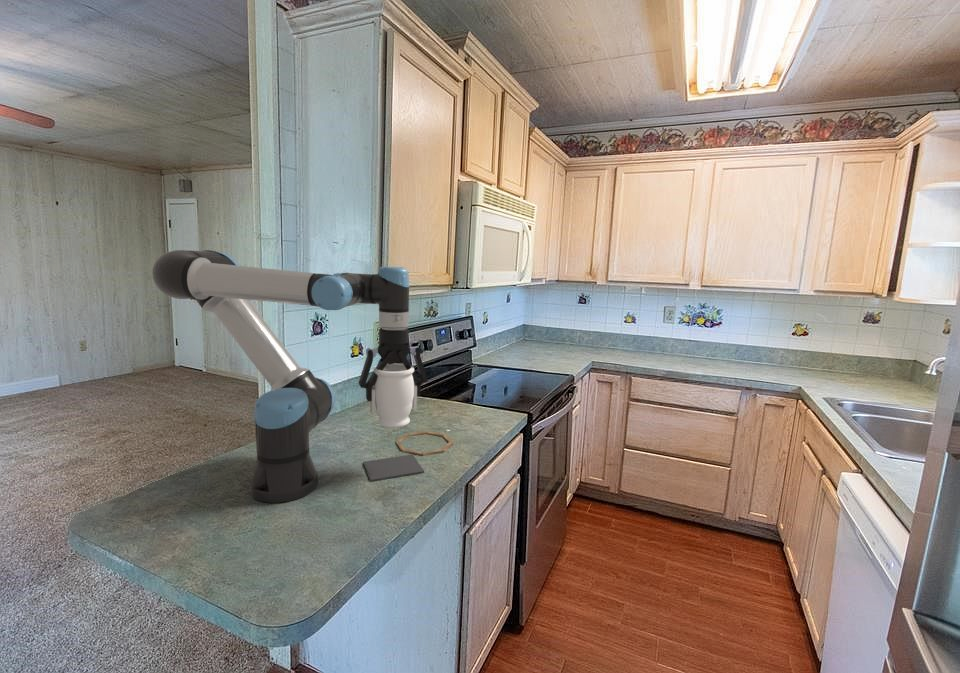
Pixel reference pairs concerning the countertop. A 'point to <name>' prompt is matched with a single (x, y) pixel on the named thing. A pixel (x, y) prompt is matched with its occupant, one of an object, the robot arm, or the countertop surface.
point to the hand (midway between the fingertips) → (393, 410)
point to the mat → (392, 467)
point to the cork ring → (427, 451)
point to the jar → (394, 394)
